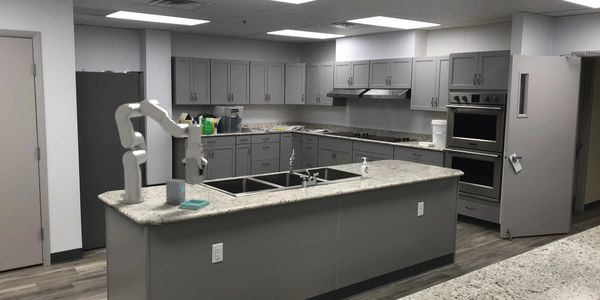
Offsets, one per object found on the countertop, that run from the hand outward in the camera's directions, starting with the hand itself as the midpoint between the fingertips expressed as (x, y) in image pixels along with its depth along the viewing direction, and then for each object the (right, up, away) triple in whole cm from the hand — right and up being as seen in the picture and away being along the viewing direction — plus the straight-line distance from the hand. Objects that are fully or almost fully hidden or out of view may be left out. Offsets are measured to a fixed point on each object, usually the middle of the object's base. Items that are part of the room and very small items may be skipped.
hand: (194, 174), depth 288 cm
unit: (-13, -18, +8) cm, 24 cm away
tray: (0, -19, +3) cm, 19 cm away
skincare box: (0, -6, +1) cm, 6 cm away
